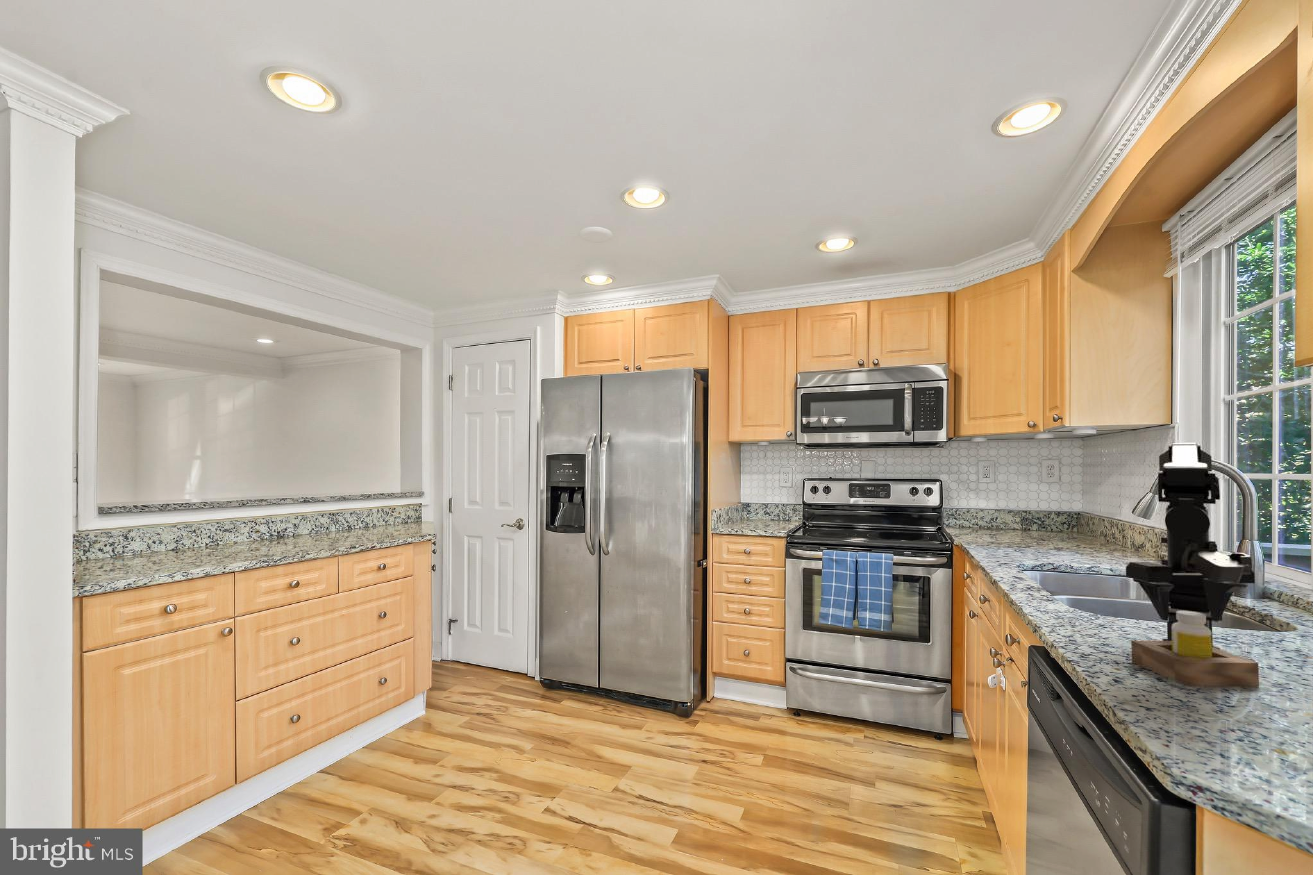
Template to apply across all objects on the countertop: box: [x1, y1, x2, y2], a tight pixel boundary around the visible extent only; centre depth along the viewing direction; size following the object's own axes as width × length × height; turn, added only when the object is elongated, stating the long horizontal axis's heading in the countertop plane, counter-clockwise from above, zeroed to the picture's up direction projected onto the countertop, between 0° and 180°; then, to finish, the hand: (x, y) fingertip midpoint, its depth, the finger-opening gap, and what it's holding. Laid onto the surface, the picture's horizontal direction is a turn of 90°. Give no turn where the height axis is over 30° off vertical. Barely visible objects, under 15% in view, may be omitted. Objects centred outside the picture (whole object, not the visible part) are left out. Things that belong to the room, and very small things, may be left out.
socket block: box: [1130, 640, 1260, 688], centre depth 106 cm, size 12×12×4 cm
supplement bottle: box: [1172, 611, 1213, 658], centre depth 106 cm, size 5×5×10 cm
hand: (1190, 620), depth 106 cm, fingers open, 9 cm apart
